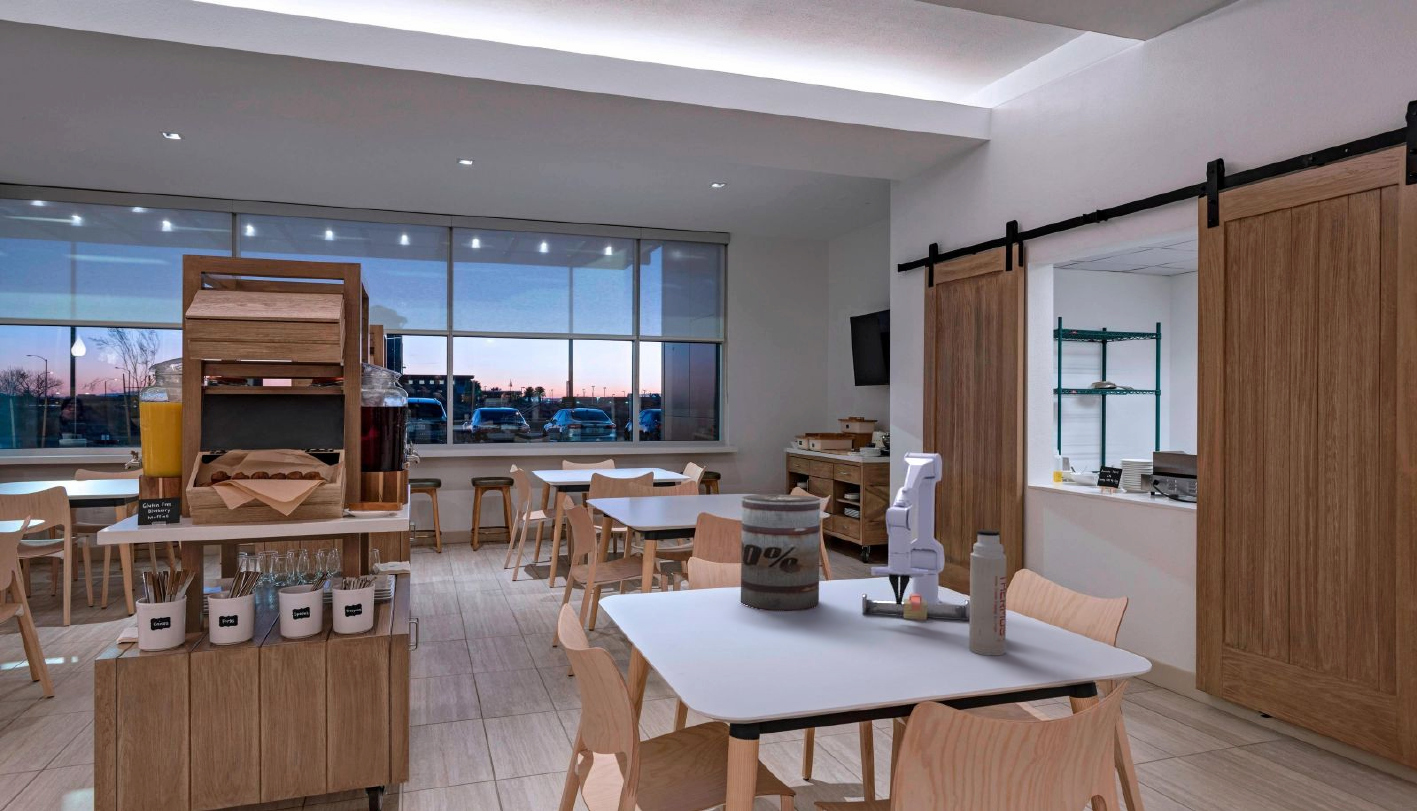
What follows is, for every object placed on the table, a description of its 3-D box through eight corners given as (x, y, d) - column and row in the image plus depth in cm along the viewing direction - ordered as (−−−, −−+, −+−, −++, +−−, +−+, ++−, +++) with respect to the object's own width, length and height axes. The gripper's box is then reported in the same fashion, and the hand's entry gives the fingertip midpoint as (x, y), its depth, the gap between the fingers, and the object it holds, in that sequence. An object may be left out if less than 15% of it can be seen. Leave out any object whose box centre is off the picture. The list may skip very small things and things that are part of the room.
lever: (909, 598, 235) (909, 593, 235) (921, 599, 234) (921, 594, 234) (909, 609, 222) (909, 604, 222) (922, 610, 221) (922, 605, 221)
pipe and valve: (863, 610, 239) (863, 591, 239) (968, 617, 233) (968, 598, 233) (862, 615, 233) (862, 596, 233) (969, 622, 227) (970, 602, 227)
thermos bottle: (1012, 653, 198) (1014, 531, 198) (987, 657, 195) (988, 533, 195) (987, 644, 205) (988, 527, 206) (961, 648, 202) (963, 529, 202)
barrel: (724, 599, 250) (726, 496, 251) (782, 590, 264) (783, 493, 264) (776, 615, 232) (777, 504, 233) (835, 604, 246) (836, 499, 246)
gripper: (871, 553, 225) (870, 605, 225) (928, 556, 222) (927, 608, 221) (872, 549, 232) (871, 599, 232) (927, 551, 228) (927, 602, 228)
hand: (899, 603), depth 227 cm, fingers closed
